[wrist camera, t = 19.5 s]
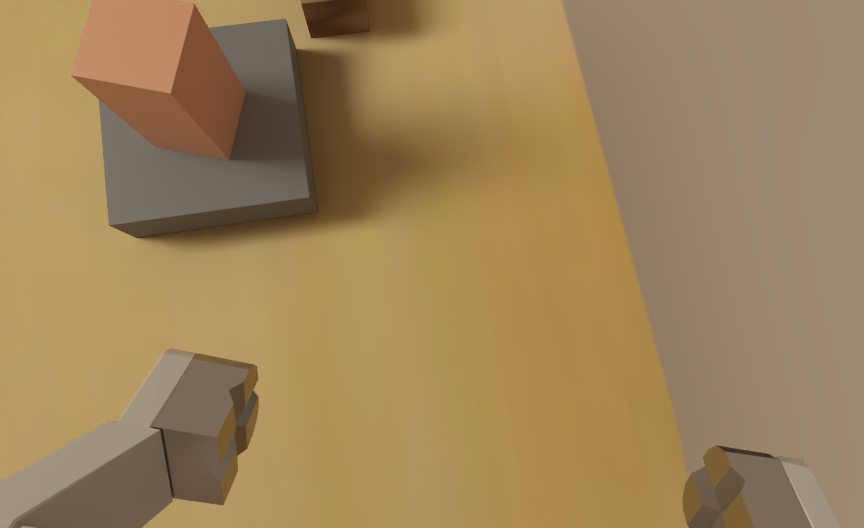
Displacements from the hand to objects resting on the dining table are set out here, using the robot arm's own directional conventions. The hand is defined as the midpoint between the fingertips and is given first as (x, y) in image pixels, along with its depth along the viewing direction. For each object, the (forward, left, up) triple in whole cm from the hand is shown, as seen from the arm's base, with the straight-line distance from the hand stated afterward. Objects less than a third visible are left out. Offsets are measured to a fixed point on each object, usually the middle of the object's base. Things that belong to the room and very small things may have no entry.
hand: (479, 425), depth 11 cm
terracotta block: (-12, +19, -27) cm, 36 cm away
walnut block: (-2, +29, -31) cm, 43 cm away
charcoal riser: (-12, +19, -31) cm, 39 cm away
